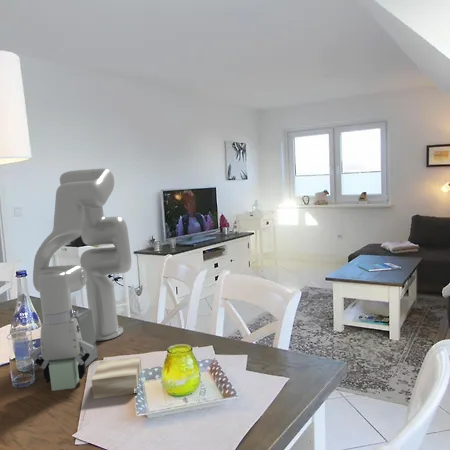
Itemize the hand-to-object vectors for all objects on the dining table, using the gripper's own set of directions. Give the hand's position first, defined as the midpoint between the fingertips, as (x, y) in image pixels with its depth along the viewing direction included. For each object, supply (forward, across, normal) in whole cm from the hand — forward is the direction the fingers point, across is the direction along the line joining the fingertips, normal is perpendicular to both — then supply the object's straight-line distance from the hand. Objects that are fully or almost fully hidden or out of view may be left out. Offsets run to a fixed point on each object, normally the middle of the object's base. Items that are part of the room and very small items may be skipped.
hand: (65, 378), depth 116 cm
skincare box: (+2, -1, -14) cm, 14 cm away
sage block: (+2, 0, 0) cm, 2 cm away
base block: (+2, -15, +5) cm, 16 cm away
